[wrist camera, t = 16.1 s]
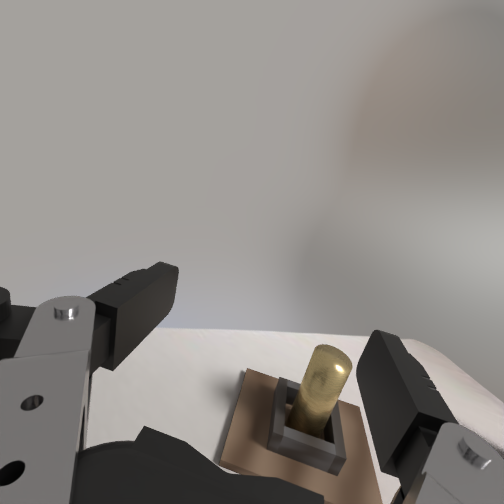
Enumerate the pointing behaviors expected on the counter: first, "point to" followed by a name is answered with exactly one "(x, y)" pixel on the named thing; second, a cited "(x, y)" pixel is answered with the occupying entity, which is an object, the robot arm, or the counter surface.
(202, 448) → the counter surface
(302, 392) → the post
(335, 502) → the mounting plate
